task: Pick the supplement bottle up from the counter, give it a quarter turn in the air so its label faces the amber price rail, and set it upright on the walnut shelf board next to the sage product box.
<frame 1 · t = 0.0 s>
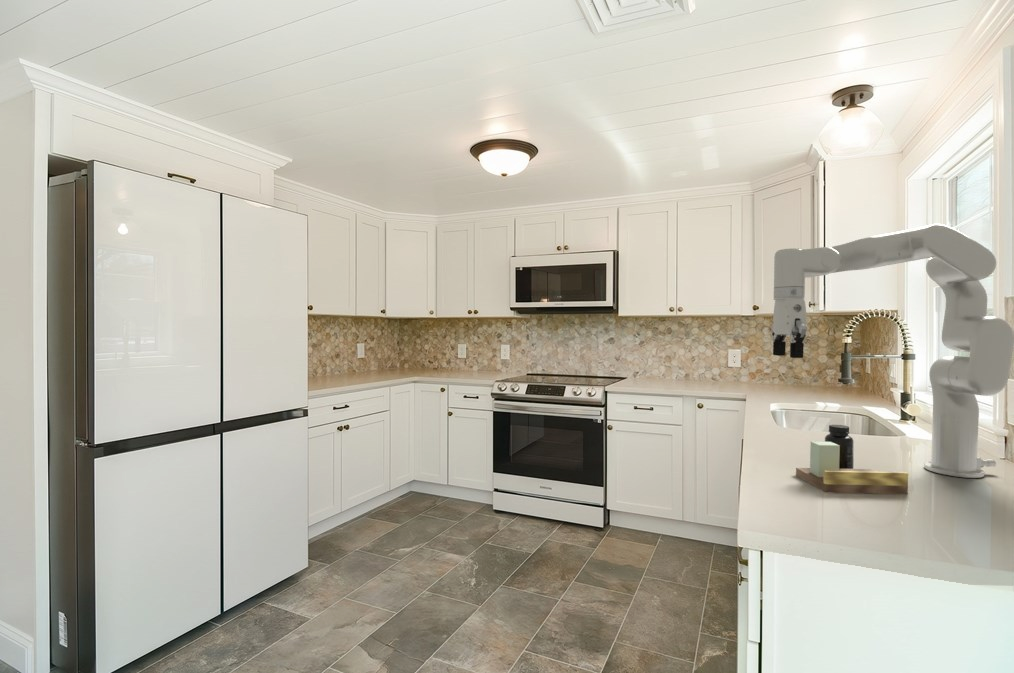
hand: (787, 356, 144), 31 cm above the countertop, tool pointing down, fingers open, 9 cm apart
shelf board: (848, 484, 132), on the countertop
supplement bottle: (838, 469, 146), on the countertop
product box: (824, 474, 133), point 2 cm above the countertop, touching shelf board
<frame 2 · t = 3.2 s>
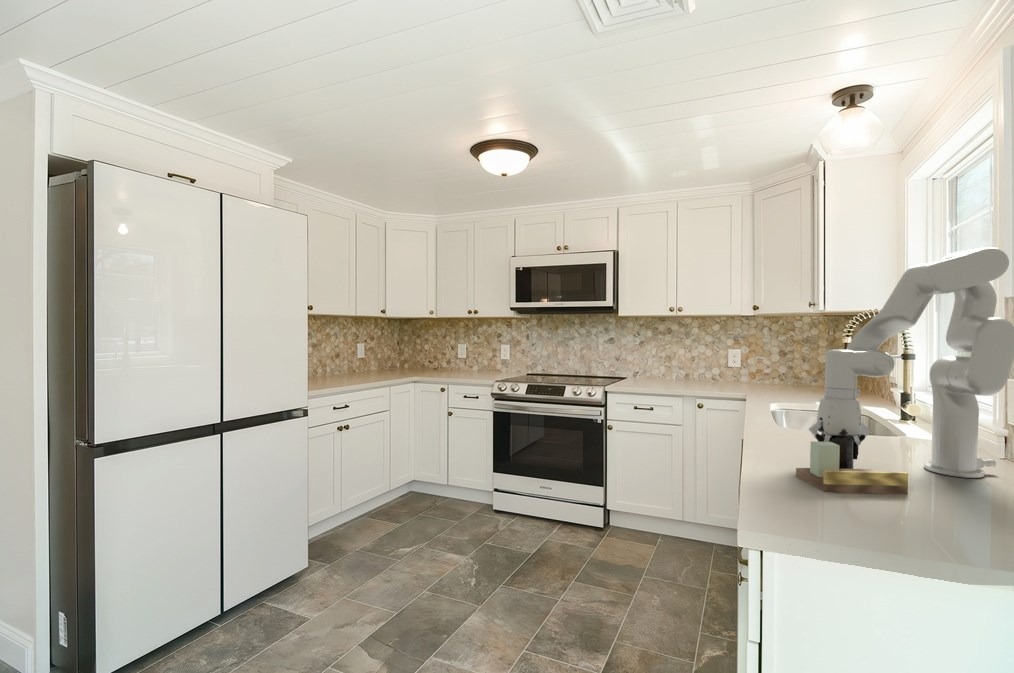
hand: (838, 457, 145), 3 cm above the countertop, tool pointing down, fingers closed on supplement bottle, 6 cm apart
supplement bottle: (838, 469, 146), on the countertop, touching gripper
everything else where it was.
when the fingers open (6 cm above the countertop, at t = 9.0 s): supplement bottle drops 1 cm, resting on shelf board.
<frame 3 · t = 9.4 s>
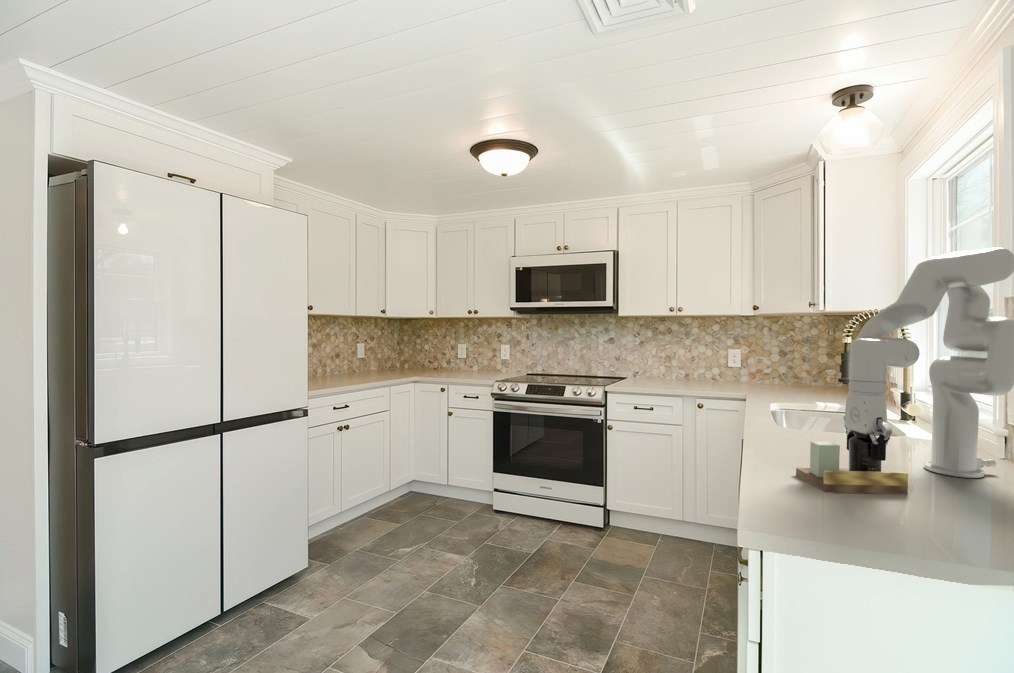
hand: (865, 455, 132), 7 cm above the countertop, tool pointing down, fingers open, 9 cm apart
supplement bottle: (864, 475, 133), point 2 cm above the countertop, touching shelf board
everything else where it was.
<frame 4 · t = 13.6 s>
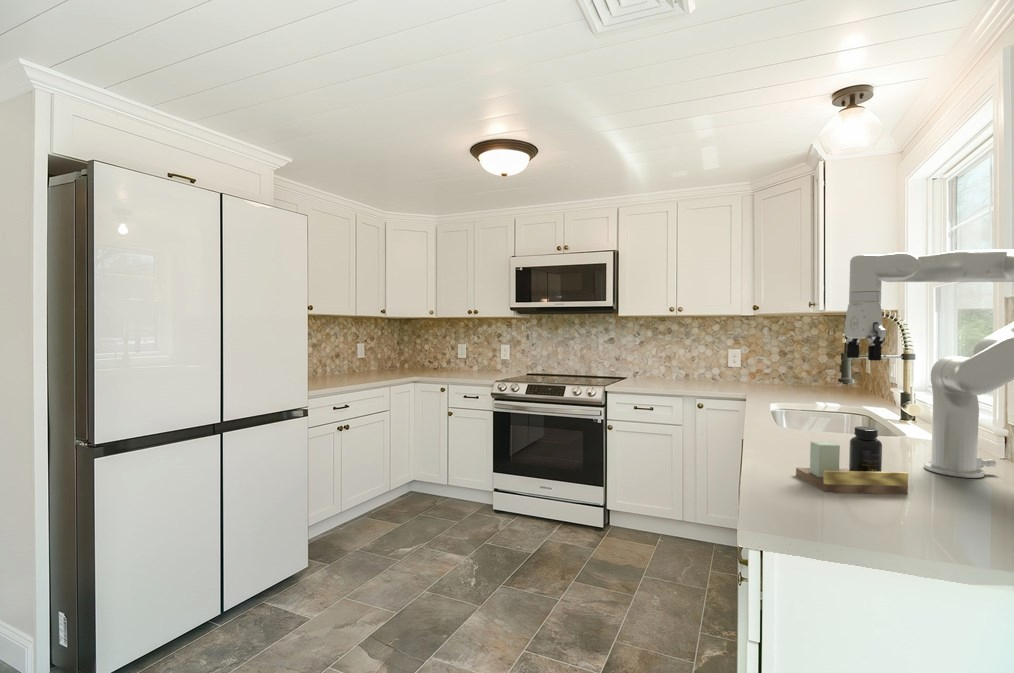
hand: (863, 359, 149), 30 cm above the countertop, tool pointing down, fingers open, 9 cm apart
nothing on the countertop moved.
at the end: supplement bottle inside the target area (0.4 cm from its centre), point 1.8 cm above the countertop; supplement bottle tilted 0°; the gripper is holding nothing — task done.
